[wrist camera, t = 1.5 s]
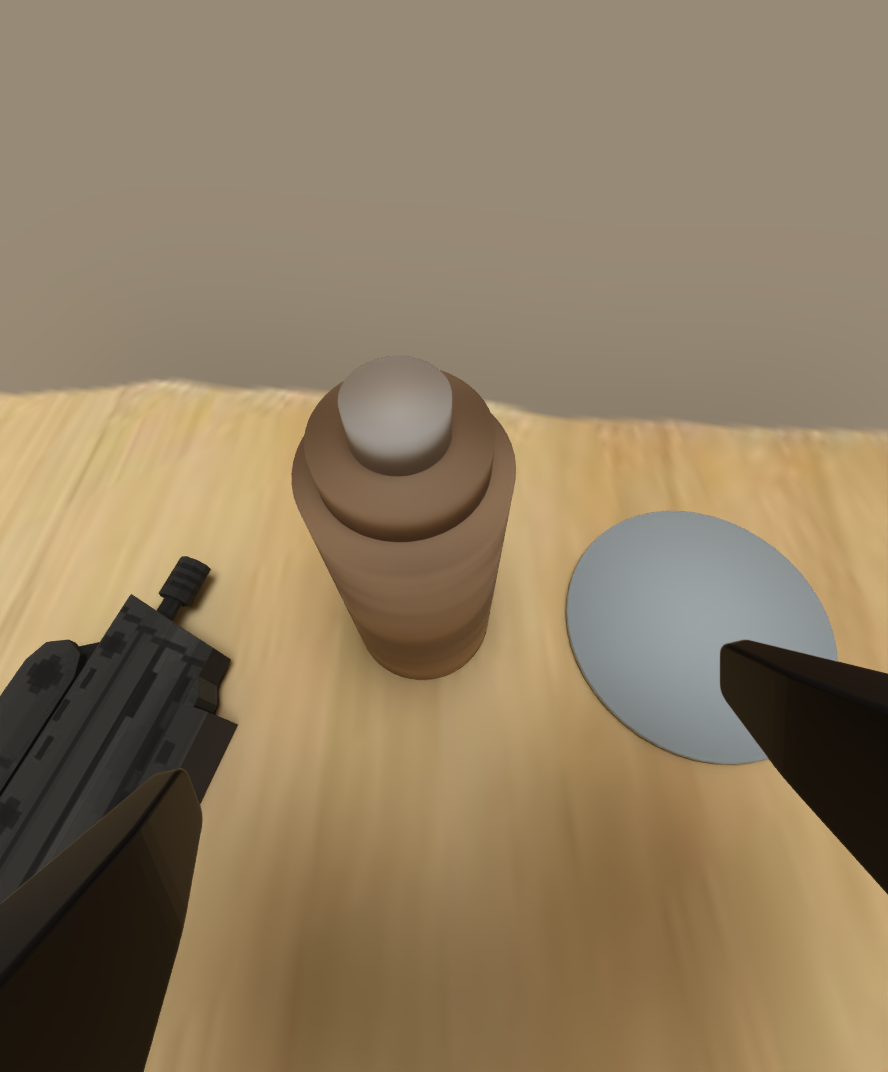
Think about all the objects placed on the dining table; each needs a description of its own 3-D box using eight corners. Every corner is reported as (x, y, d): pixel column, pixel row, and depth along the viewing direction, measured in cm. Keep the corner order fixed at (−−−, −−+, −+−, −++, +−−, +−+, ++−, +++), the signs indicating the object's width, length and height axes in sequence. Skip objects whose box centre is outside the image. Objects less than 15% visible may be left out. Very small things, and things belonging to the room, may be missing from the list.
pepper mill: (502, 663, 22) (565, 479, 10) (369, 693, 21) (268, 536, 9) (470, 546, 24) (490, 291, 12) (351, 570, 24) (254, 328, 12)
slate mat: (779, 830, 19) (785, 830, 18) (517, 654, 22) (519, 651, 21) (863, 596, 23) (869, 593, 22) (634, 477, 26) (636, 473, 26)
